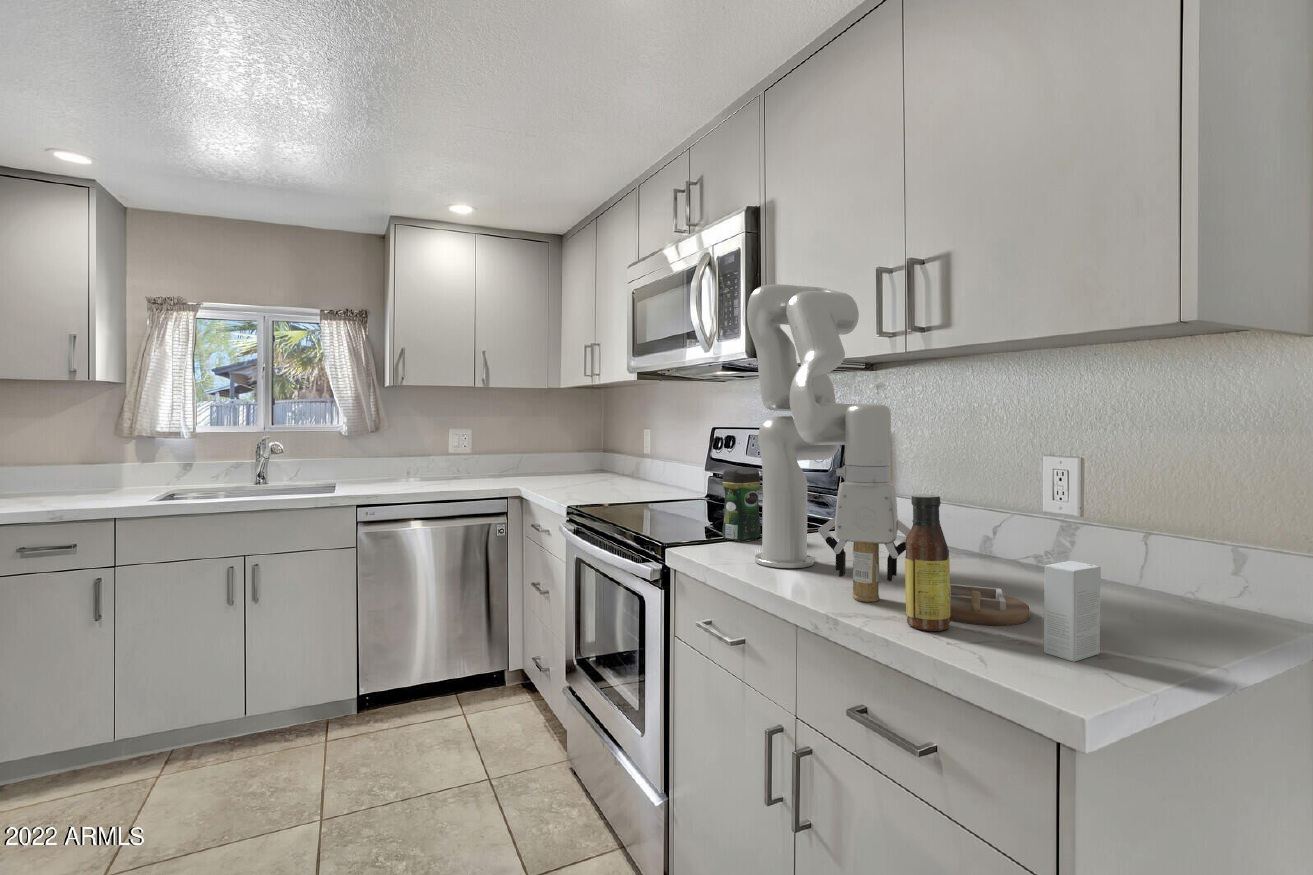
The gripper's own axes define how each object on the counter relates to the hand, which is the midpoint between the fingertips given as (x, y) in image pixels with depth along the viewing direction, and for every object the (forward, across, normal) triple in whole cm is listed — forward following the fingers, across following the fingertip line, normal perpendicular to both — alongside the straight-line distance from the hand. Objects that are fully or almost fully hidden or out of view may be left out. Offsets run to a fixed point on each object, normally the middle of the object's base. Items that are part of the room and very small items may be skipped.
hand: (865, 576), depth 116 cm
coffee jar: (+4, -35, +46) cm, 58 cm away
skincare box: (+4, +28, -17) cm, 33 cm away
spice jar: (+4, 0, 0) cm, 4 cm away
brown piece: (+4, +17, 0) cm, 17 cm away
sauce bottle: (+4, +10, -12) cm, 16 cm away
